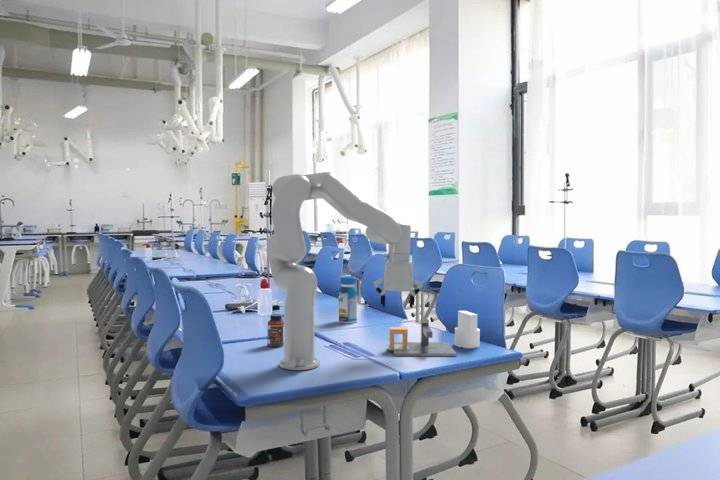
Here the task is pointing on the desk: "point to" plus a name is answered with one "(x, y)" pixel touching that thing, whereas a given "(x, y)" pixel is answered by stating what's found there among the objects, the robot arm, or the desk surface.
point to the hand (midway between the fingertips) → (397, 306)
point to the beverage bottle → (347, 300)
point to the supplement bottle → (275, 331)
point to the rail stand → (423, 345)
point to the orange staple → (398, 331)
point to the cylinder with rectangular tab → (467, 330)
